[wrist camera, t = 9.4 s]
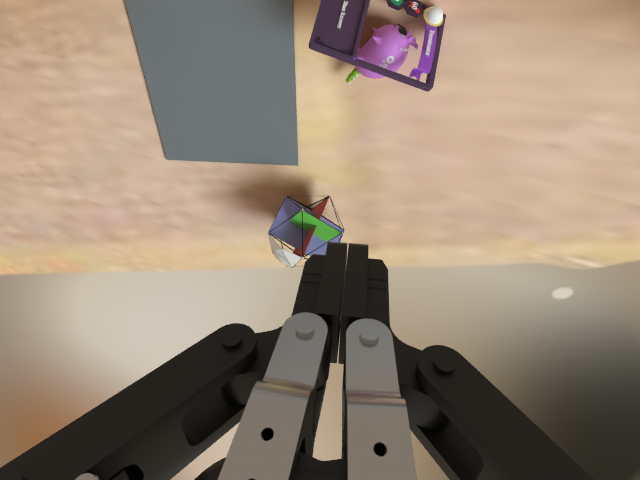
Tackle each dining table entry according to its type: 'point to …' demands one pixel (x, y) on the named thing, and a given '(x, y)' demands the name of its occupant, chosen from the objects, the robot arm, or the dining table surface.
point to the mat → (220, 77)
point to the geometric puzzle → (302, 231)
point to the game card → (377, 40)
